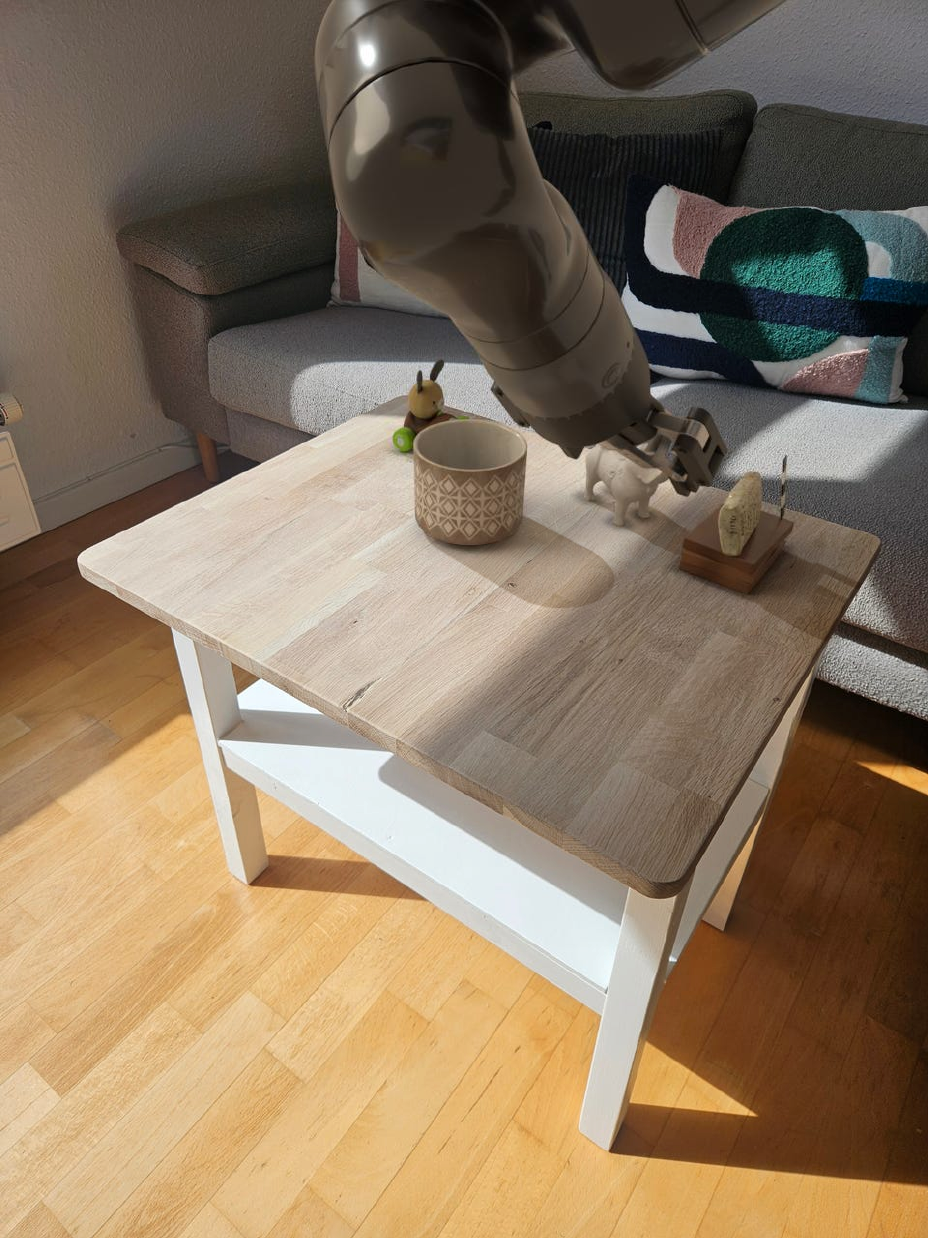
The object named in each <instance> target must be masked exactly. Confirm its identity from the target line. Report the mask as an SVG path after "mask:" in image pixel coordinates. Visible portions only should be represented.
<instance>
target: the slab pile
mask: <svg viewBox="0 0 928 1238" xmlns="http://www.w3.org/2000/svg"><path fill="white" fill-rule="evenodd" d="M723 505H724V502H723V503H722V504H721V505H720V506H718V507H717V508H715V509H714V511H713V512H712V513H710V515H708V516H707V517H706V518H705V519H704V520H702V521H701V523H699V524H698V525H697V526H696V527H694V528H693V529H692V530H691V531H690V532H689V533H688V534H686V536H684V537H683V542H682V546H681V547H682V548H683V551H682V553H681V557H680V559H679V565H678V570H681V571H684V572H686V573H689V574H692V575H695V576H697V577H700V578H703V579H705V580H708V581H710V582H713V583H716V584H717V585H718V584H719V585H721V586H724V587H726V588H729V589H732V590H735V591H737V592H740V593H743V594H745V595H748V594H749V593H750V592H751V590H753V588H754V587H755V586H756V584H757V583H758V582H759V580H760V579H761V578H762V577H763V575H764V574H765V573H766V572H767V571H768V569H769V568H770V567H771V566H772V564H773V563H774V561H776V559H777V558H778V557H779V555H780V554H781V553H782V552H783V551H784V549H785V545H786V542H787V541H786V540H785V539H787V537H789V535H790V534H791V533H792V532H793V529H794V526H795V521H792V520H789V519H786V518H784V517H783V518H782V520H781V519H780V516H778V515H776V514H773V513H770V512H767V511H764V510H761V512H760V518H759V522H758V523H757V525H756V527H755V528H754V530H753V532H752V534H751V536H750V538H749V539H748V541H747V543H746V544H745V545H744V547H743V549H742V551H741V553H740V555H738V556H727V555H725V554H724V553H723V550H722V547H721V542H720V536H719V526H718V518H719V513H720V510H721V508H722V506H723Z"/></svg>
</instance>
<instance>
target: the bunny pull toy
mask: <svg viewBox="0 0 928 1238" xmlns="http://www.w3.org/2000/svg"><path fill="white" fill-rule="evenodd" d="M444 366H445V361H444V359H442V358H441V359H438V360H436V362H434V363H433V366H432V368H431V370H430V373H429V379H424V378H423V377H424V376H423V371H422V370H421V369H420V370H418V371H417V374H416V382H415V383H414V384H413V385H412V387H410V389H409V392H408V394H407V405H408V408H409V410H408V412H407V414H406V416H405V418H404V422H403V426H402V427H400V428H398V429H397V430H395V431H394V432H393V434H392V442H393V445H394V447H395V448H396V449H397V450H399V451H400V452H408V451H410V450H411V449H414V446H413V443H414V440H415V438H416V436H417V435H418V434H419V433H420V432H421V431H422V430H424V429H426V428H427V427H430V426H432V425H434V424H437V423H441V422H445V421H451V420H460V419H470V418H469V417H468V416H466V415H464V414H463V415H458V416H455V415H453V414H451V413H448V412H444V411H443V408H444V405H445V398H444V392H443V388H442V387H441V385H440V384H439V383H438V382H436V381H437V379H438V376H439V375H440V373H441V372H442V370H443V369H444Z"/></svg>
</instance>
